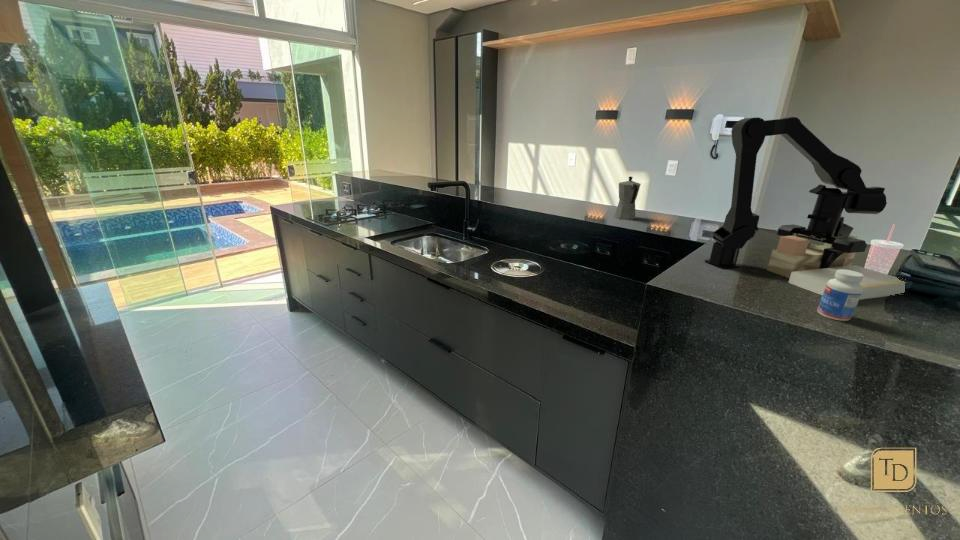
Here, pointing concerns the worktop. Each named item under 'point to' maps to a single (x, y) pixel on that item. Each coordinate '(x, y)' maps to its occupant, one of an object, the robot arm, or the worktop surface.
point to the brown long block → (804, 261)
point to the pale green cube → (837, 237)
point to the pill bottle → (841, 295)
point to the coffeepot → (627, 199)
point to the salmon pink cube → (792, 245)
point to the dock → (872, 283)
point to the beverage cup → (882, 254)
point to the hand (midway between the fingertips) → (808, 267)
